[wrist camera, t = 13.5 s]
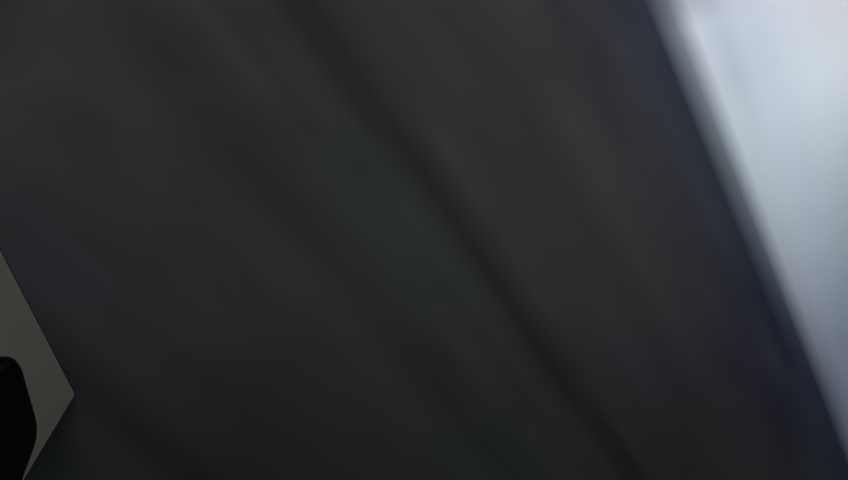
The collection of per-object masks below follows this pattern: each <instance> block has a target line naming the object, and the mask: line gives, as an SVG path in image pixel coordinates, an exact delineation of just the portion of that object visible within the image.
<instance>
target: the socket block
mask: <svg viewBox="0 0 848 480" xmlns="http://www.w3.org/2000/svg"><path fill="white" fill-rule="evenodd" d="M0 356H7V357H11V358H13V359H15V360H16V361H17V362H18V363H19V365H20V367H21V369H22V372H23V375H24V379H25V382H26V386H27V389H28V393H29V396H30V400H31V403H32V407H33V410H34V414H35V417H36V422H37V437H36V442H35V446H34V449H33V452H32V454H31V457H30V460H29V462H28V465H27V468H26V471H25V473H24V476H23V479H22V480H24V478H25V477H26V475H27V473H28V472H29V470H30V468H31V467H32V465H33V463H34V462H35V460H36V458H37V457H38V455H39V453H40V452H41V450H42V448H43V447H44V445H45V443H46V442H47V440H48V438H49V437H50V435H51V433H52V432H53V430H54V428H55V427H56V425H57V423H58V422H59V420H60V418H61V417H62V415H63V413H64V412H65V410H66V408H67V407H68V405H69V404H70V402H71V400H72V399H73V397H74V395H75V394H74V392H73V390H72V388H71V386H70V384H69V382H68V380H67V378H66V377H65V375H64V373H63V371H62V369H61V367H60V365H59V363H58V361H57V359H56V357H55V355H54V353H53V352H52V350H51V348H50V346H49V344H48V342H47V340H46V338H45V336H44V334H43V332H42V330H41V328H40V326H39V325H38V323H37V321H36V319H35V317H34V315H33V313H32V311H31V309H30V307H29V305H28V303H27V301H26V300H25V298H24V296H23V294H22V292H21V290H20V288H19V286H18V284H17V282H16V280H15V278H14V276H13V275H12V273H11V271H10V269H9V267H8V265H7V263H6V261H5V259H4V257H3V255H2V253H1V251H0Z"/></svg>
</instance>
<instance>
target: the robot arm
mask: <svg viewBox="0 0 848 480" xmlns="http://www.w3.org/2000/svg"><path fill="white" fill-rule="evenodd" d="M36 437H37V422H36V417H35V414H34V410H33V407H32V403H31V400H30V396H29V393H28V389H27V386H26V382H25V379H24V375H23V372H22V369H21V367H20V365H19V363H18V362H17V361H16V360H15V359H13V358H11V357H7V356H0V480H22V479H23V476H24V473H25V471H26V468H27V465H28V462H29V460H30V457H31V454H32V452H33V449H34V446H35V442H36Z"/></svg>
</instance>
